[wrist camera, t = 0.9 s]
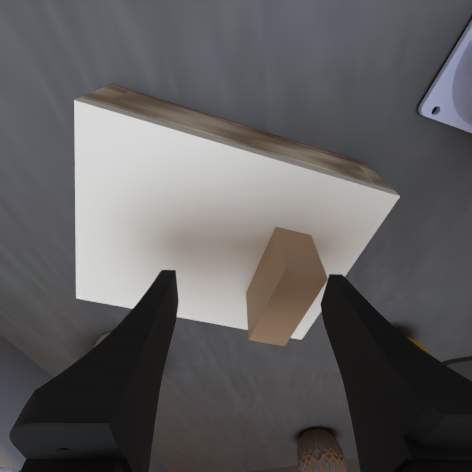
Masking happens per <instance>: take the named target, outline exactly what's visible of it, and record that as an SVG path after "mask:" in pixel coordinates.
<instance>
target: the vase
mask: <svg viewBox="0 0 472 472" xmlns="http://www.w3.org/2000/svg"><path fill="white" fill-rule="evenodd" d="M297 460H298V466H299V470H300V472H346V463H345V458H344V455H343V452H342V449H341V447H340V445H339V443H338V441H337V440H336V438H335V437H334V436H333V435H332V434H331V433H329V432H328V431H327V430H325V429H320V428H316V429H310V430H307V431H305V432H304V433H303V435H302V436H301V438H300V440H299V442H298V447H297Z"/></svg>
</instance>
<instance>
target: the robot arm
mask: <svg viewBox="0 0 472 472" xmlns="http://www.w3.org/2000/svg"><path fill="white" fill-rule="evenodd" d="M436 106H437V109H436V111H435V112H434V113H432V109H433V108H434V107H436ZM418 112H419V114H421V115H422V116H425V117H428V118H430V119H433V120H436V121H439V122H442V123H444V124H447V125H450V126H453V127H456V128H458V129H461V130H464V131H467V132H470V133H472V20H471V22H470V23H469V25H468V27H467V28H466V30H465V31H464V33H463V35H462V36H461V38H460V40H459V41H458V43H457V45H456V46H455V48H454V49H453V51H452V53H451V54H450V56H449V58H448V59H447V61H446V63H445V64H444V66H443V68H442V69H441V71H440V72H439V74H438V76H437V77H436V79H435V81H434V82H433V84H432V86H431V87H430V89H429V90H428V92H427V94H426V95H425V97H424V99H423V100H422V102H421V104H420V105H419V108H418ZM178 302H179V301H178V290H177V280H176V270H162V271H160V273H159V274H158V276H157V277H156V279H155V280H154V282H153V283H152V285H151V286H150V287H149V289H148V290H147V292H146V293H145V294H144V296H143V297H142V298H141V299H140V301H139V302H138V303H137V304H136V306H135V307H134V308H133V309H132V310H131V311H130V313H129V314H128V315H127V316H126V317H125V318H124V319H123V320H122V322H121V323H120V324H119V325H118V326H117V327H116V328H115V329H114V330H113V331H112V332H111V333H110V334H109V335H108V336H106V337H105V338H104V339H103V340H102V341H101V342H100V343H99V344H98V345H96V346H95V347H94V348H93V349H92V350H91V351H89V352H88V353H87V354H86V355H84V356H83V357H82V358H81V359H79V360H78V361H77V362H75V363H74V364H73V365H72V366H70V367H69V368H68V369H66V370H65V371H63V372H62V373H61V374H59V375H58V376H56V377H55V378H53V379H52V380H50V381H49V382H47V383H46V384H44V385H43V386H41V387H40V388H38V389H36V390H35V391H34V393H33V394H32V396H31V397H30V399H29V400H28V402H27V403H26V405H25V406H24V408H23V410H22V412H21V413H20V415H19V417H18V419H17V421H16V422H15V424H14V426H13V428H12V430H11V432H10V440H11V442H12V443H13V445H14V446H15V447H16V448H17V449H18V450H19V451H20V452H21V453H22V454H23V455H24V457H25V458H26V461H25V463H24V465H23V467H22V469H21V470H19V469H16V468H9V467H0V472H148V471H149V463H150V455H151V447H152V440H153V432H154V425H155V418H156V411H157V405H158V398H159V392H160V386H161V379H162V374H163V369H164V365H165V361H166V357H167V353H168V350H169V346H170V342H171V338H172V334H173V330H174V326H175V322H176V316H177V309H178ZM320 305H321V310H322V315H323V320H324V325H325V328H326V331H327V334H328V337H329V340H330V343H331V346H332V348H333V351H334V354H335V357H336V360H337V363H338V366H339V369H340V372H341V376H342V379H343V383H344V388H345V392H346V396H347V401H348V405H349V410H350V415H351V419H352V425H353V430H354V435H355V441H356V446H357V452H358V458H359V464H360V470H361V472H472V381H470V380H469V379H467V378H465V377H463V376H462V375H460V374H459V373H457V372H455V371H454V370H452V369H451V368H449V367H447V366H446V365H444V364H443V363H441V362H440V361H438V360H437V359H435V358H434V357H432V356H431V355H430V354H428V353H427V352H425V351H424V350H423V349H421V348H420V347H419V346H417V345H416V344H415V343H413V342H412V341H411V340H409V339H408V338H407V337H406V336H405V335H403V334H402V333H401V332H400V331H398V330H397V329H396V328H395V327H394V326H393V325H392V324H390V323H389V322H388V321H387V320H386V319H385V318H384V317H383V316H382V315H381V314H380V313H379V312H378V311H377V310H376V309H375V308H374V307H373V306H372V305H371V304H370V303H369V302H368V301H367V300H366V299H365V298H364V297H363V296H362V295H361V294H360V293H359V292H358V291H357V290H356V289H355V288H354V287H353V285H352V284H351V283H350V282H349V281H348V280H347V279H346V278H345V277H344V276H343V275H340V274H329V278H328V281H327V284H326V287H325V291H324V294H323V297H322V301H321V304H320Z"/></svg>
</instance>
